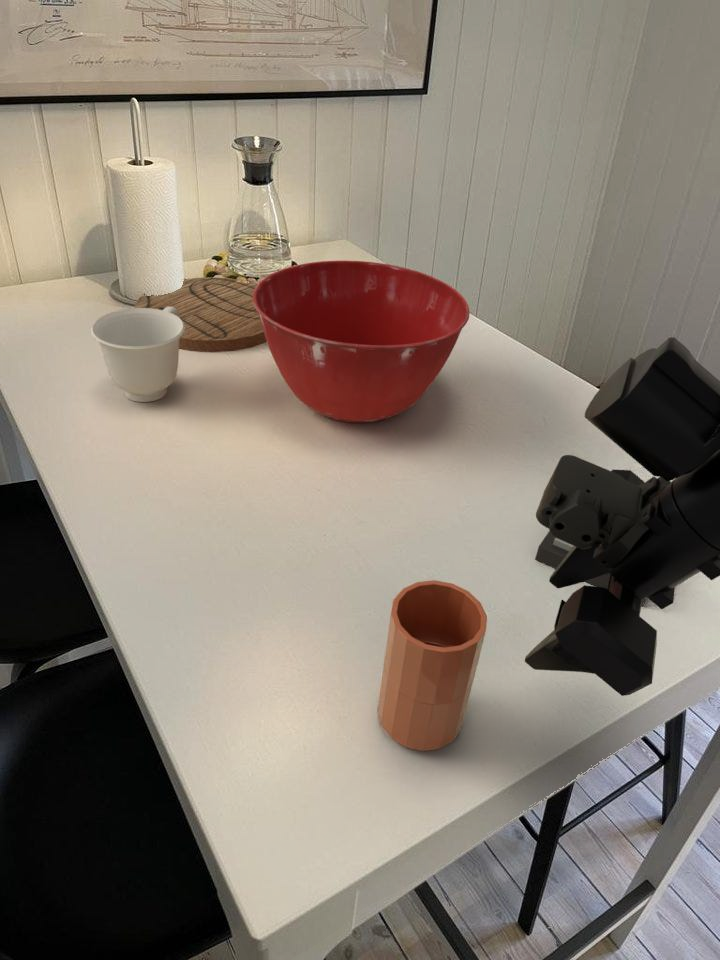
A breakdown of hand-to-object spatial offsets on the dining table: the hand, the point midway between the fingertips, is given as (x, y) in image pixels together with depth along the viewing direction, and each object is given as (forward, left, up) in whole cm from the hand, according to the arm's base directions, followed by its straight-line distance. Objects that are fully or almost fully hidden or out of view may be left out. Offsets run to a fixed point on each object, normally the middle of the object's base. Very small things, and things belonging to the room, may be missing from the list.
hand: (542, 621), depth 58 cm
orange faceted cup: (+7, +4, -13) cm, 15 cm away
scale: (0, -27, -13) cm, 30 cm away
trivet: (+74, -45, -13) cm, 87 cm away
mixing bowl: (+41, -38, -13) cm, 57 cm away
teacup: (+65, -22, -13) cm, 69 cm away
